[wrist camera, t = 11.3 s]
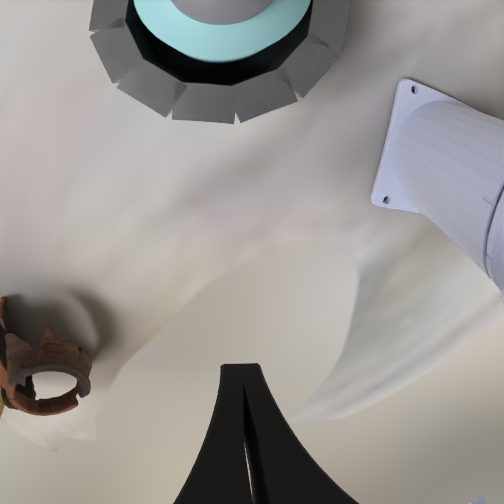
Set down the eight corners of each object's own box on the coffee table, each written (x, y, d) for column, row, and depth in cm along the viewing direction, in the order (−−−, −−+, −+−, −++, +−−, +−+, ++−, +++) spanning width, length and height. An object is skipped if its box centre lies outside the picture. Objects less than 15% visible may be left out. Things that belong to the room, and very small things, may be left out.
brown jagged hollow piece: (3, 263, 18) (5, 346, 13) (94, 296, 26) (123, 368, 21) (-27, 356, 20) (-19, 430, 15) (49, 373, 27) (70, 438, 22)
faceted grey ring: (329, -42, 10) (358, -66, 7) (302, 122, 15) (326, 137, 12) (137, -60, 9) (117, -89, 5) (112, 107, 14) (82, 119, 10)
